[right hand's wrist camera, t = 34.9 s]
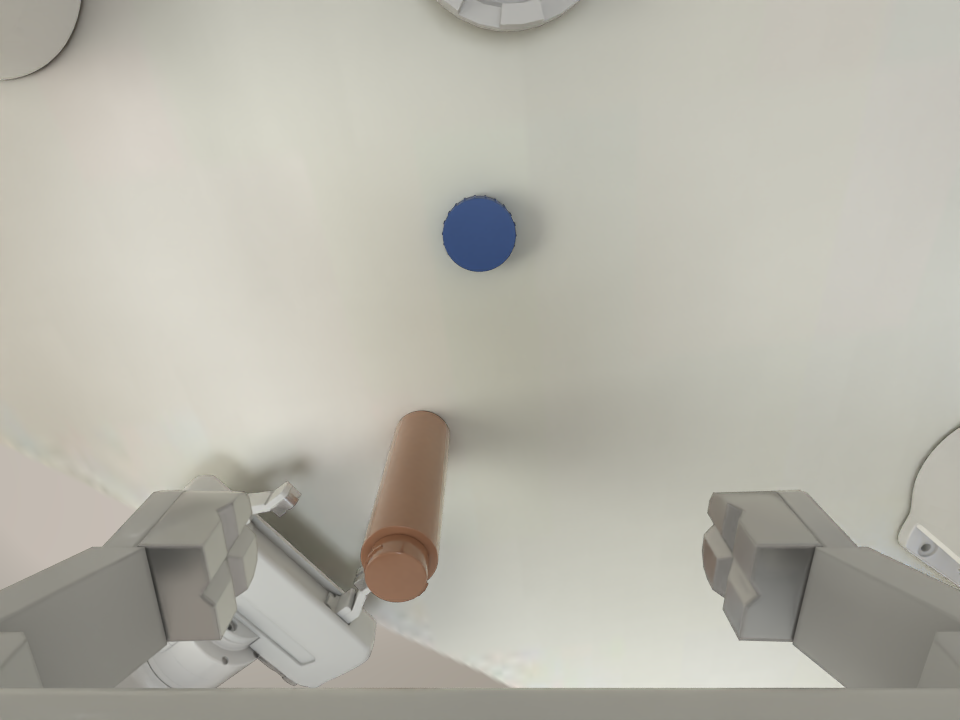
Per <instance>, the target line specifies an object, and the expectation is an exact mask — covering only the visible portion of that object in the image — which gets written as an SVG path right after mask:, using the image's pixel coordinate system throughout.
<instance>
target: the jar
mask: <svg viewBox="0 0 960 720" xmlns="http://www.w3.org/2000/svg"><path fill="white" fill-rule="evenodd" d="M449 440H450V433H449V429H448V426H447V424H446V423H445V422H444V420H443V419H442V418H440V417H439V416H438V415H436V414H434V413H431V412H428V411H415V412H412V413H409V414H407V415H406V416H404V417H403V418H402V419H401V420H400V421H399V423H398V424H397V426H396V429H395V433H394V436H393V440H392V443H391V447H390V450H389V454H388V457H387V461H386V464H385V468H384V471H383V475H382V479H381V482H380V486H379V489H378V493H377V496H376V500H375V503H374V507H373V510H372V514H371V517H370V521H369V524H368V528H367V531H366V535H365V538H364V542H363V545H362V549H361V562H362V566H363V568H364V576H365V582H366V584H367V586H368V588H369V590H370V591H371V592H372V593H373V594H374V595H376V596H377V597H379V598H381V599H383V600H386V601H390V602H405V601H408V600H411V599H414V598H415V597H417V596H420V595H421V594H422V593H423V591H425V589H426V587H427V586H428V583H427V580H428V579H429V578H430V577H431V576H432V575H433V574H434V572H435V570H436V568H437V565H438V557H439V546H440V536H441V525H442V514H443V504H444V493H445V482H446V472H447V461H448V450H449Z"/></svg>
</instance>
